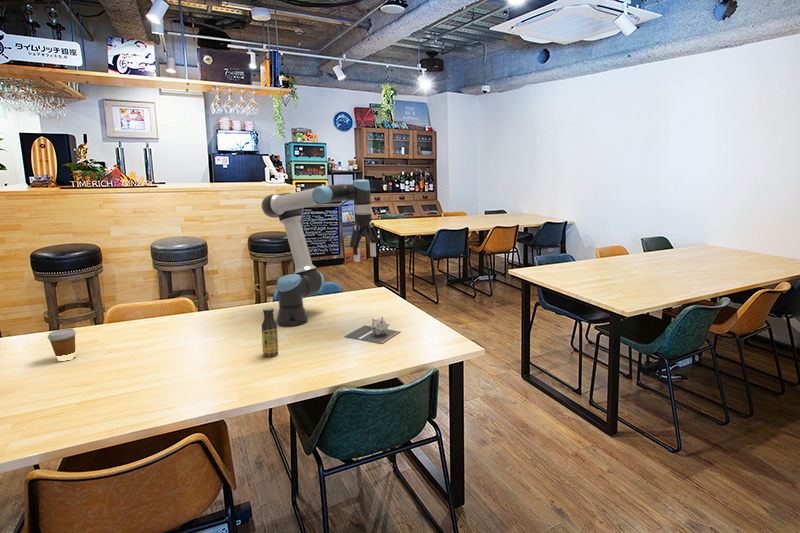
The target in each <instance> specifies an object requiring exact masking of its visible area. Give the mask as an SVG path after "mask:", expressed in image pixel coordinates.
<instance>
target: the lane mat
mask: <svg viewBox="0 0 800 533" xmlns="http://www.w3.org/2000/svg"><path fill="white" fill-rule="evenodd" d="M370 328H371V325H363V326H361V327H359V328H357V329H355V330H353V331H352V332H350V333H348V334H346V335H344V338H347V339H354V340H358V341H363V342H368V343H374V344H379V345H383V344H384V343H387V342H388V341H389V340H391V339H393V338H394V337H396V336H397V335H399V334H400V333H401V332H402V331H399V330H394V329H388V328H387V330H386V335H385V334H382V335H378V336H377V337H376V335H375V333H374V332H373V331H372V330H371V329H370ZM369 329H370V330H369Z"/></svg>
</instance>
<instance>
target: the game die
mask: <svg viewBox="0 0 800 533" xmlns="http://www.w3.org/2000/svg"><path fill="white" fill-rule="evenodd" d="M383 317H384V316H381V318H376V319H374V318H371V320H372V323H371V325H370V326H371V328H370V329H371V330H372V331H373V332H374V333H375V335H376V337H377V336H378V335H382V334H385V335H386V330H387V329H388V327H389V326H390V325H391V324H388V323H387V322H386V320H384V319H383ZM370 329H369V330H370Z"/></svg>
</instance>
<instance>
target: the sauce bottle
mask: <svg viewBox="0 0 800 533" xmlns="http://www.w3.org/2000/svg"><path fill="white" fill-rule="evenodd" d="M262 312H263V321H262V323H261V343H262V345H261V346H262V354H263V357H265V356H266V357H265V358H272V356H273V357H275V355H276V356H277V355H278V354H279V335H278V326H277V325H278V324H277V320H275V319H274V318H275V317H274V308H273V307H264V308H263V310H262Z"/></svg>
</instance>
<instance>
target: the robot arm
mask: <svg viewBox="0 0 800 533" xmlns="http://www.w3.org/2000/svg"><path fill="white" fill-rule="evenodd" d="M370 183H371V182H370V180H369V179H354V180H353V182H352V183H350V184H349V183H348V184H346V183H338V184H332V185H331V184H330V185H324V184H323V185H319V186H318V185H317V186H315V187H312V188H309V189H305V190H301V191H296V192H287V193H286V192H285V193H275V194H269V195H267V196H265V197H264V198H263V199H262V201H261V210H262V212H263V213H264V215H265V216H267V217H268V218H274V219H275V218H278V219H279V223H281V224H283V226H284V229H285V230H284V231H285V233H286V237H287V241H288V244H289V248H290V251H291V252H290V253H291V256H292V259H293V262H294V266H295V271H294V273H291V274H285V275H283V276H281V277H279V278H278V279H277V282H276V283H277V286H276V290H277V297H278V299H277V300H278V311H277V312H278V313H277V317H276V323H277V325H278V326H280V327H284V328H285V327H287V328H288V327H297V326H301V325H304V324H306V323H307V322H308V320H309V319H308V318H309V317H308V314H307V312H306V309H305V308H304V300H303V299H304V298H307V297H309V296H310V297H311V296H314V295H316V294H318V293H320V292H321V291H322V290H323V288H324V286H325V277H324V275H323V273H322V272H320V271H319V270H318V269H317V267H316V266H315V265H314V264H313V262H312V258H311V254H310V251H309V247H308V243H307V240H306V236H305V233H304V229H303V225H302V223H301V219H302V217H303V214H302V213H303V212H304V208H307V207H313V206H318V205H323V204H329V203H335V202H337V203H338V202H344V201H345V202H346V201H348V202H349V201H351V202H352V201H353V204H354V205H353V206H354V214H355V215H354V221H355V223H356V225H353V226H352V233H351V237H350V243H349V248H352V253H353V262H356V263H360V262H361V256H360V247H359V246H360V243H361V240H362V238H363V236H364V235H366V236H367V238H368V240H369V241H370V242H369V250H370V251H369V252H370V257H372V258H373V257H375V258H376V257H377V245H376V244H377V243H379V237H378V234H377V231H376V228H375V223H374V222H372V206H371V204H372V203H371V202H372V200H371V184H370Z"/></svg>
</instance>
